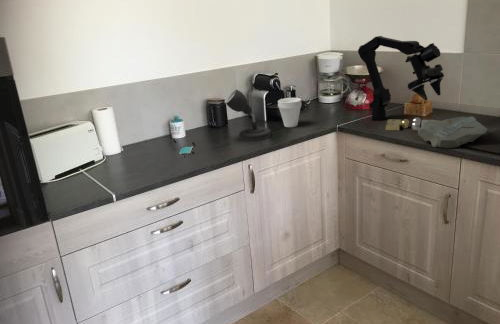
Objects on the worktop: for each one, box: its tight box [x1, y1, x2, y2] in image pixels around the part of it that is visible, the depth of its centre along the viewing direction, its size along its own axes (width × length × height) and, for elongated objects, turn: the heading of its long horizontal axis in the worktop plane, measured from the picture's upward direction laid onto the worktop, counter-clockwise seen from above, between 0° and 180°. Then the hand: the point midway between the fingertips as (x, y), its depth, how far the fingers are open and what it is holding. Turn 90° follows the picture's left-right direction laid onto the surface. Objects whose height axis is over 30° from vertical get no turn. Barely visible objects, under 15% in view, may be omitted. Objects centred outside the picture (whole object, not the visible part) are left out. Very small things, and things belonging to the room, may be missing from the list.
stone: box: [417, 116, 489, 149], centre depth 181 cm, size 28×8×20 cm
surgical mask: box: [172, 139, 196, 158], centre depth 200 cm, size 21×4×10 cm
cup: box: [277, 97, 302, 128], centre depth 225 cm, size 12×12×14 cm
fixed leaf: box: [411, 117, 434, 132], centre depth 202 cm, size 10×11×4 cm
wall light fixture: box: [225, 89, 272, 142], centre depth 209 cm, size 16×25×20 cm
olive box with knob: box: [385, 118, 410, 131], centre depth 206 cm, size 10×11×4 cm
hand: (433, 97), depth 198 cm, fingers open, 9 cm apart
